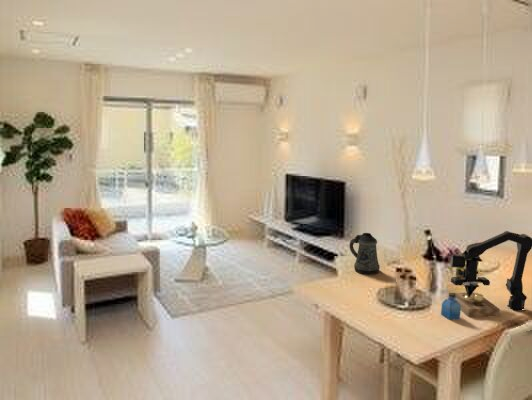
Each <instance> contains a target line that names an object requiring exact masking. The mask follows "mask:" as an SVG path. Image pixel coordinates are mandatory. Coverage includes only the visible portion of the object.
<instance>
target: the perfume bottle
mask: <svg viewBox="0 0 532 400" xmlns="http://www.w3.org/2000/svg"><path fill="white" fill-rule="evenodd" d="M455 293H456V292H448V296H447V297H448V298H449V299H448V298H445V299H444V300H443V301H442V303H441V311H440V315H441V316H442V317H444V318H445V319H447V320H459V319H461V312H462V311H461V306H460V304H459V302H458V301H456V300H455V299H456V296H455V295H456V294H455Z"/></svg>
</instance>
